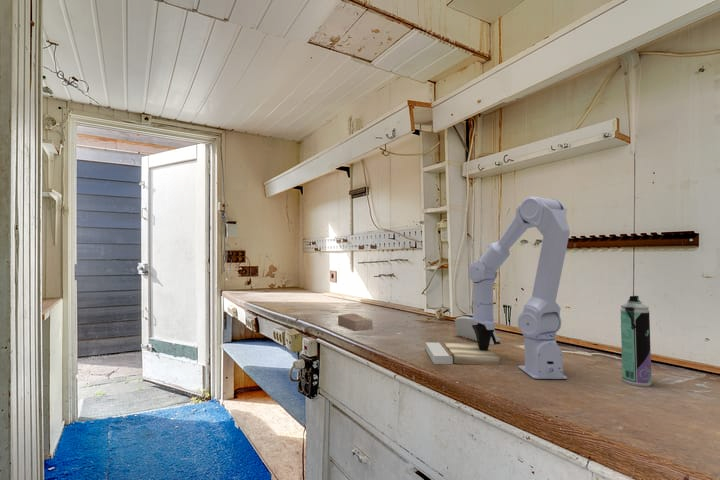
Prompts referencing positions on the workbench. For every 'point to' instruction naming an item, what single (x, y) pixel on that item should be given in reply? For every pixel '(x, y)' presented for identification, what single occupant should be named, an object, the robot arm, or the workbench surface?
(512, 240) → the robot arm
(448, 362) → the board
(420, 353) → the workbench surface
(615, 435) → the workbench surface
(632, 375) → the spray can
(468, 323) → the grey curved block
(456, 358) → the brass metal plate
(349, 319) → the brick
